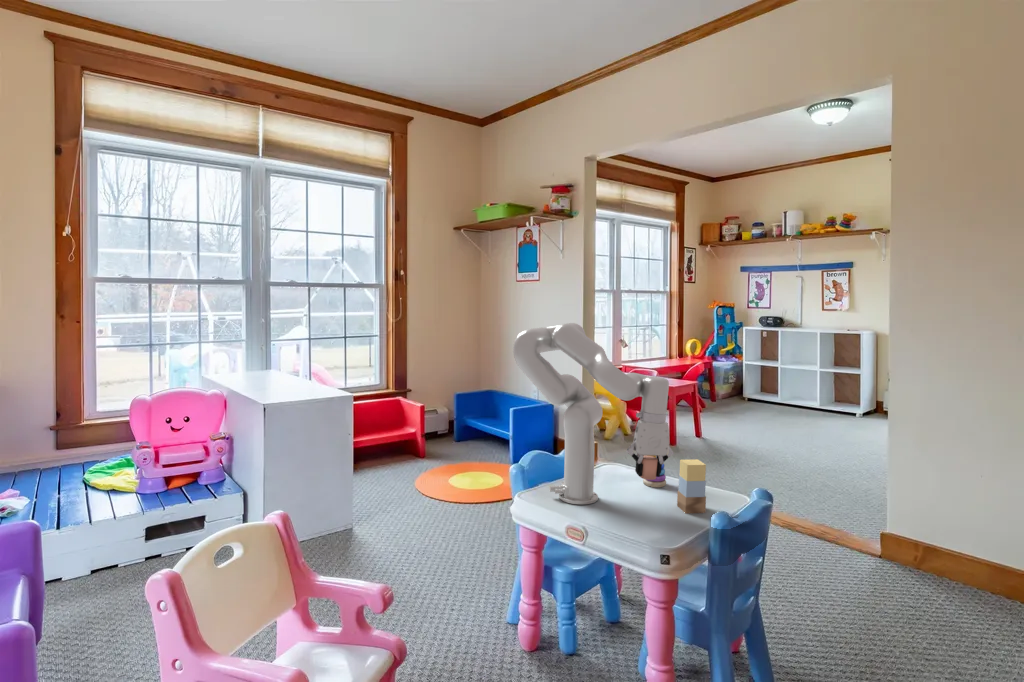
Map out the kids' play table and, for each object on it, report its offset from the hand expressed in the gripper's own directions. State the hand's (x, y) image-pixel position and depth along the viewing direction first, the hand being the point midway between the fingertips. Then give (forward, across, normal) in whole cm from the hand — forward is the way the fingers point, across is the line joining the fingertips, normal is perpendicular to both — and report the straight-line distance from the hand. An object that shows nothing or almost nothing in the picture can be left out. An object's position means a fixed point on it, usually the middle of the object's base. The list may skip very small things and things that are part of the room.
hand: (647, 474), depth 181 cm
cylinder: (+1, 0, 0) cm, 1 cm away
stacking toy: (+11, +12, +23) cm, 28 cm away
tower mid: (+5, +14, -1) cm, 15 cm away
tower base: (+10, +14, -1) cm, 18 cm away
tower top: (+1, +14, -1) cm, 14 cm away
